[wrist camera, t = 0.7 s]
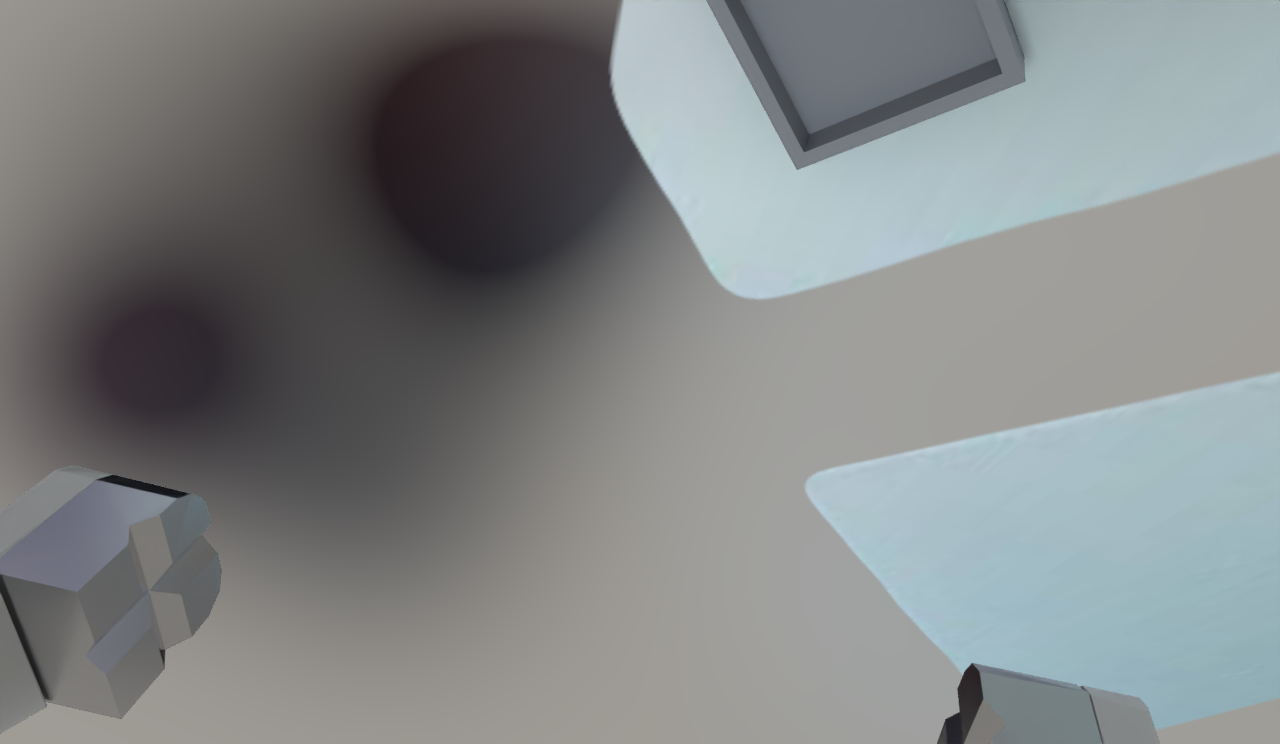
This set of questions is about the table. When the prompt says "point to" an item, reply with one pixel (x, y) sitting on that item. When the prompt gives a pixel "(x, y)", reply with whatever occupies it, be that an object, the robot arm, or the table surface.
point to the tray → (867, 64)
